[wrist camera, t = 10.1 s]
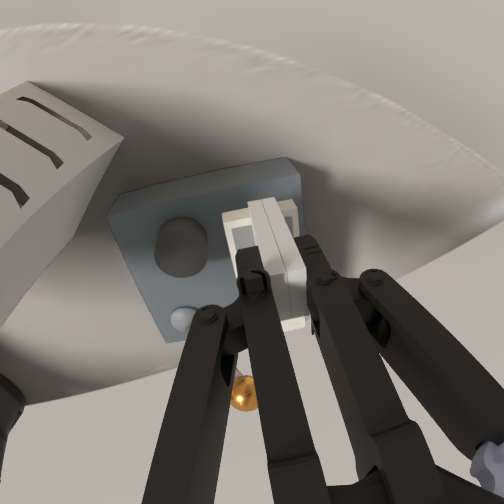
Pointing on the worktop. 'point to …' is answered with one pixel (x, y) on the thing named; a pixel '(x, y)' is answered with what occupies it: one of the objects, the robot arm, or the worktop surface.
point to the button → (181, 247)
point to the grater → (44, 185)
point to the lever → (239, 388)
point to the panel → (210, 217)
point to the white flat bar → (242, 237)
